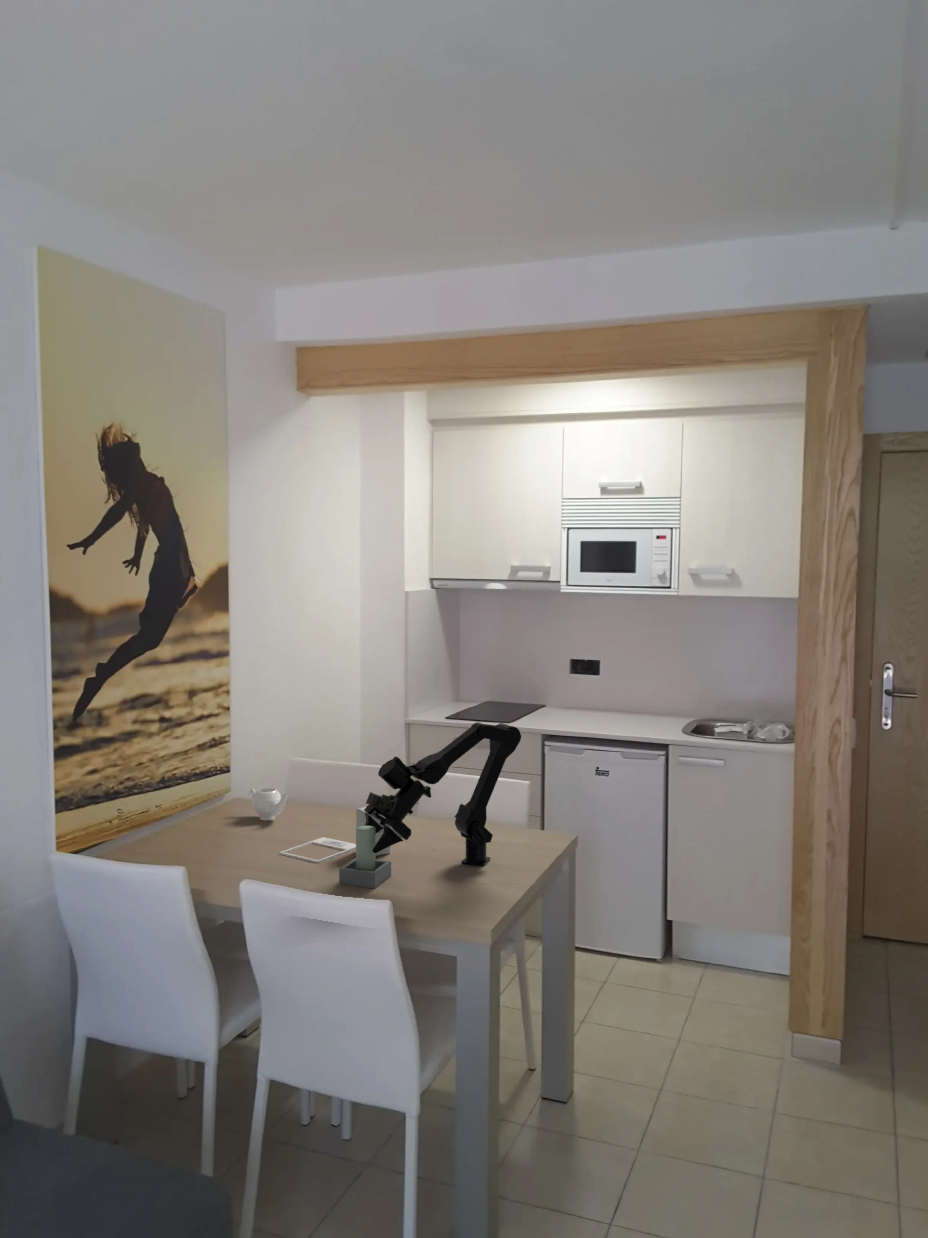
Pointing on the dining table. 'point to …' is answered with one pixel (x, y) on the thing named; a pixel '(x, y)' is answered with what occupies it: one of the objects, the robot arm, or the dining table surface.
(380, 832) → the supplement box
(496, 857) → the dining table surface
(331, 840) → the photo frame
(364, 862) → the sage peg
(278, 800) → the teapot
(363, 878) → the gray square tray
